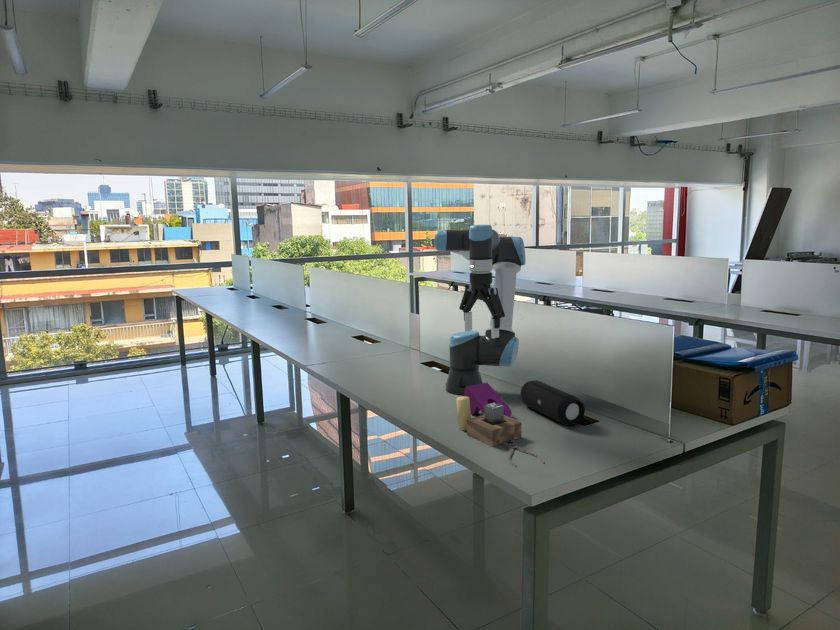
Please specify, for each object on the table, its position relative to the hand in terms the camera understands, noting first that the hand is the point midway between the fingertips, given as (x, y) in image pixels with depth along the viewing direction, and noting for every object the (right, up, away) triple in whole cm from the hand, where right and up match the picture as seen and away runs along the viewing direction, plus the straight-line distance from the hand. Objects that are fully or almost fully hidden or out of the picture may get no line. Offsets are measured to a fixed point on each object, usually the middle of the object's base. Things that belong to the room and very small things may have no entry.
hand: (481, 334), depth 193 cm
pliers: (+6, -34, -28) cm, 44 cm away
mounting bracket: (+3, -29, +4) cm, 29 cm away
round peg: (-6, -30, -8) cm, 32 cm away
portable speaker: (+24, -28, +3) cm, 37 cm away
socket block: (+2, -31, -15) cm, 35 cm away
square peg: (+2, -31, -15) cm, 35 cm away
